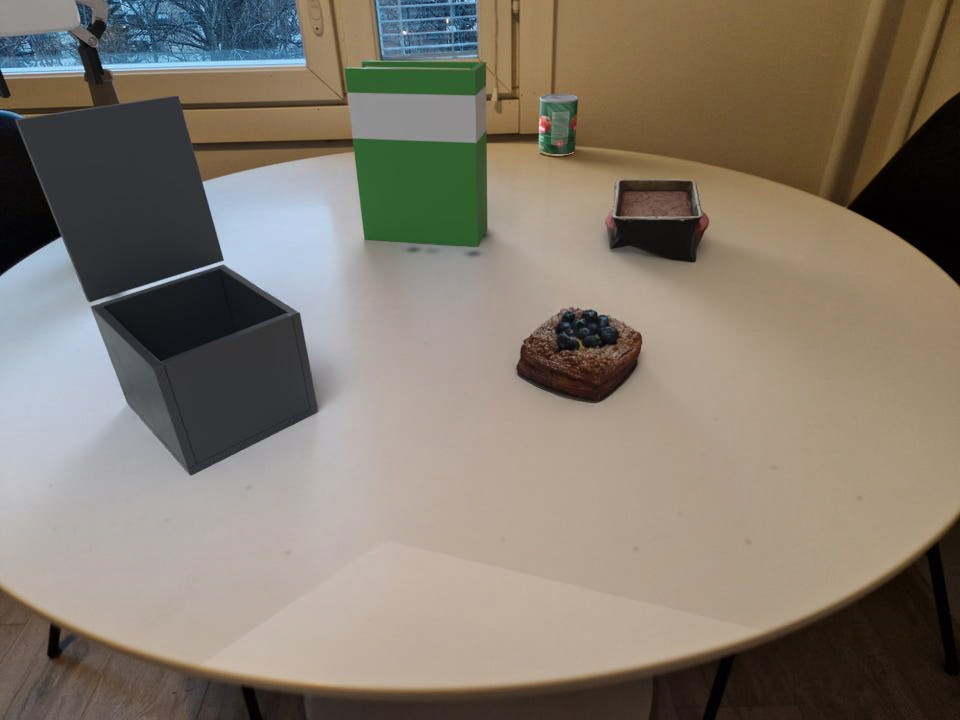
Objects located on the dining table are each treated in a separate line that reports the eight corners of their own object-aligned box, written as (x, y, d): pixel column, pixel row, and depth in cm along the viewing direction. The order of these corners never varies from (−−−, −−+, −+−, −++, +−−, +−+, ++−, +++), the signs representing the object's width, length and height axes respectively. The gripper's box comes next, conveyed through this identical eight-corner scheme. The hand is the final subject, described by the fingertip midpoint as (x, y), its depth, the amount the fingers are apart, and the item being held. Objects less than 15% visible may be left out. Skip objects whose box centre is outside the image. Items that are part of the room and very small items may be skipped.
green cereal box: (364, 239, 98) (344, 68, 86) (380, 222, 105) (363, 60, 92) (478, 246, 95) (475, 70, 83) (487, 228, 102) (485, 62, 89)
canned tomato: (582, 153, 138) (586, 98, 132) (552, 158, 134) (554, 102, 128) (560, 145, 143) (563, 92, 137) (530, 150, 140) (532, 96, 134)
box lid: (178, 95, 57) (155, 92, 61) (16, 119, 50) (1, 114, 53) (224, 260, 65) (201, 249, 68) (89, 302, 57) (71, 287, 61)
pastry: (504, 377, 66) (504, 327, 63) (558, 328, 75) (561, 282, 72) (602, 412, 61) (608, 359, 58) (649, 355, 70) (657, 306, 66)
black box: (318, 411, 62) (300, 312, 56) (190, 475, 55) (153, 369, 49) (246, 354, 71) (223, 264, 65) (127, 403, 64) (89, 306, 58)
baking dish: (593, 270, 93) (603, 208, 86) (611, 210, 105) (621, 152, 98) (696, 289, 90) (715, 225, 83) (702, 225, 102) (718, 165, 96)
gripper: (68, -88, 73) (118, 75, 82) (-125, -89, 63) (-43, 97, 72) (90, -92, 68) (140, 82, 78) (-114, -93, 58) (-29, 107, 68)
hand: (52, 89), depth 75 cm, fingers open, 9 cm apart
